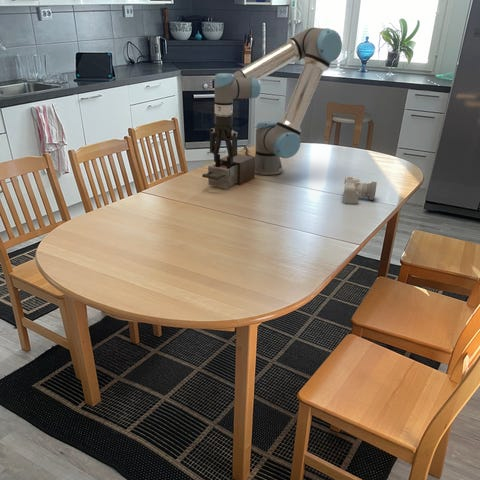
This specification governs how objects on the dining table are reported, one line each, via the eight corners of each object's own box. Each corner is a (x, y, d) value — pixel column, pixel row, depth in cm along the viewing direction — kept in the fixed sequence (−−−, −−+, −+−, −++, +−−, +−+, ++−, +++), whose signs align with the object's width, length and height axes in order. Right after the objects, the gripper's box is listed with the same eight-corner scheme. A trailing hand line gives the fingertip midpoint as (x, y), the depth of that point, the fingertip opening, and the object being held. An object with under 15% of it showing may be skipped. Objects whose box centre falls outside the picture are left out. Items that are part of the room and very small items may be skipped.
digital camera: (368, 215, 204) (372, 194, 197) (335, 208, 209) (338, 187, 201) (377, 195, 215) (381, 174, 208) (346, 189, 219) (349, 168, 212)
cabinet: (239, 185, 223) (240, 163, 217) (218, 180, 227) (218, 159, 222) (254, 178, 232) (255, 156, 227) (233, 174, 237) (234, 153, 232)
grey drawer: (219, 192, 211) (219, 173, 207) (200, 188, 215) (200, 169, 211) (242, 181, 225) (242, 163, 220) (223, 177, 229) (223, 159, 224)
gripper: (200, 113, 206) (201, 169, 219) (237, 119, 199) (236, 176, 211) (210, 111, 212) (210, 165, 224) (247, 116, 204) (245, 172, 217)
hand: (223, 170), depth 218 cm, fingers open, 5 cm apart
